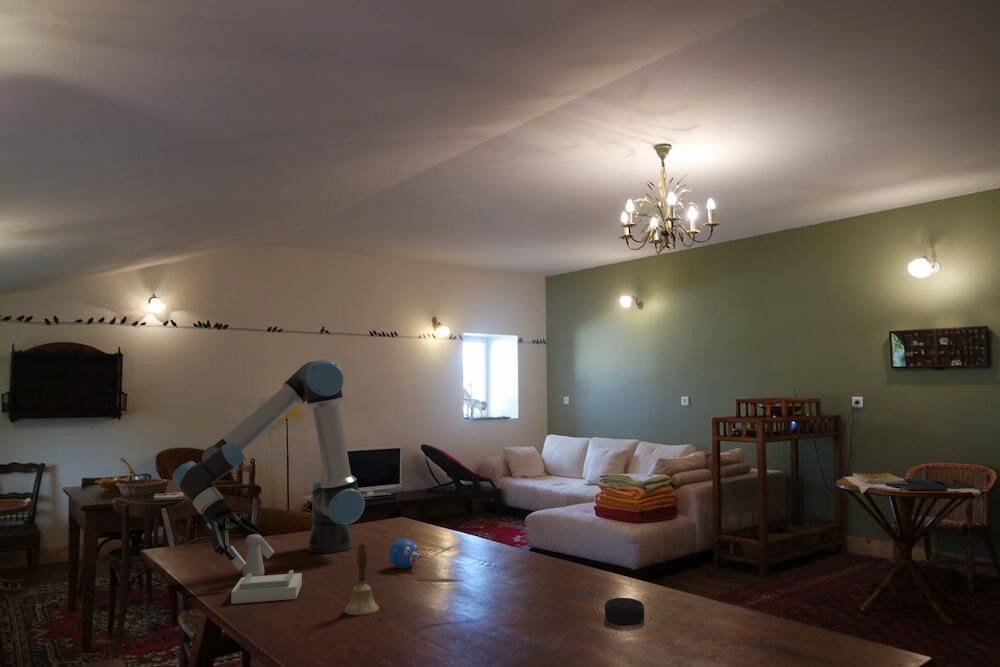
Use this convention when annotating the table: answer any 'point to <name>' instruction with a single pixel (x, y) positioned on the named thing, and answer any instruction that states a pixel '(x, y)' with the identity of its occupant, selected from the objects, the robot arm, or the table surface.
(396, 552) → the blue rounded piece
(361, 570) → the hand bell
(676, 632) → the table surface
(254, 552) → the salt shaker
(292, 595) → the dock
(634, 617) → the smart speaker
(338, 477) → the robot arm
